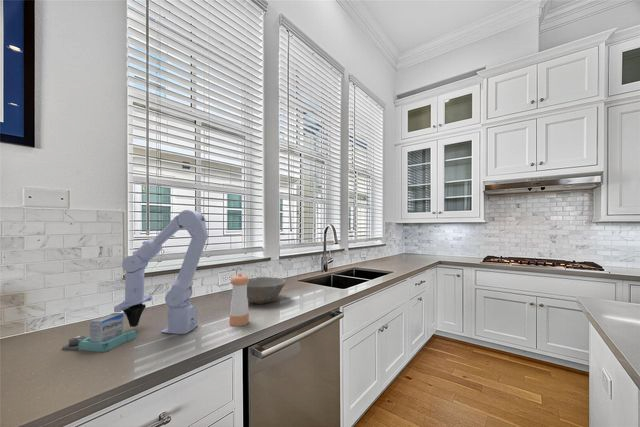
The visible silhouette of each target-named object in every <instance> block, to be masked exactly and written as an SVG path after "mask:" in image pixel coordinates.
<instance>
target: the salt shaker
mask: <svg viewBox="0 0 640 427" xmlns="http://www.w3.org/2000/svg"><path fill="white" fill-rule="evenodd" d="M249 279H250V278H249V277H248V276H247V275H244V274H243V273H238V274H237V275H234V276H233V277H232V278H231V279H230V283H231V286H232V296H231V302H230V313H229V325H230V326H233V327H241V326H245V325H247V324H248V323H249V322H250V320H249V319H250V314H249V313H250V312H249V302H248V300H249V299H248V298H247V284H248V282H249Z"/></svg>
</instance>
